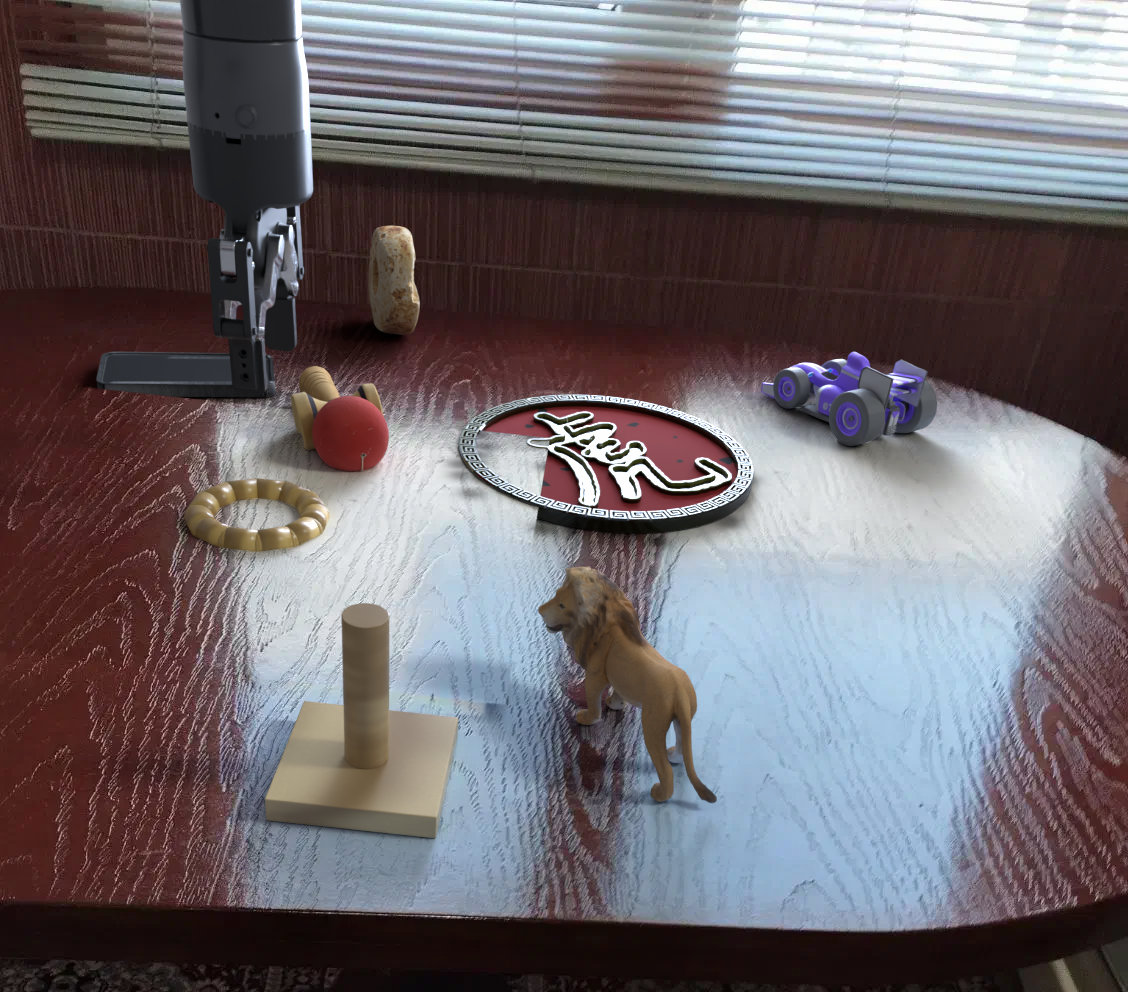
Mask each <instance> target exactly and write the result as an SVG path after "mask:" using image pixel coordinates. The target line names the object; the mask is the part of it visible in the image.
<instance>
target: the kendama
mask: <svg viewBox="0 0 1128 992" xmlns="http://www.w3.org/2000/svg"><path fill="white" fill-rule="evenodd" d="M298 388H299V391H300V392H296V393H293V394H291V395H290V405H291V411H292V417H293V421H294V426H295V429H296V432H297V433H298V434H301V437H302V442H303V449H304V450H306V451H309V450H310V451H311V450H316V453H317V455H318V456H319V458H320V459H321V460H322V462H323V463H325V464H326V465H327V466H328V467H329V468H332V469H335V470H338V471H344V472H363V471H368V470H370V469H373V468H375V467H376V466H377V465H378V464H379V463H380V462H381V461H382V460H383V458H384V457H385V455H386V452H387V450H388V447H389V441H390V432H389V431H390V430H389V427H388V423H387V421H386V419H385V416H384V411H383V407H382V403H381V399H380V395H379V392H378V390H377V388H376V385H375V384H374V383H372V382H371V383H362V384H361V385H359V387H357V389H356V390H355V392H354V393H353V394H351V395H342V396H341V395H340V393H339V391H338V389H337V387H336V385H335V383H334V381H333V378H332V376H331V375H330V373H329V372H328V371H327V370H326V369H325V368H323V367H321V366H319V365H312V366H309V367H307V368H305V369H304V370H303V371H302V373H301V374H300V375H299V379H298Z"/></svg>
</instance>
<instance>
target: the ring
mask: <svg viewBox="0 0 1128 992" xmlns="http://www.w3.org/2000/svg"><path fill="white" fill-rule="evenodd" d="M256 499H258V500H259V499H260V500H268V501H278V502H281V503H284V504H286V505H288V506H290V507H293V508H295V509H296V511H297V513H298V514H299V518H298V519H295V520H293V521H291V522H289V523H287V524H285V525H283V526H282V525H281V526H275V527H267V528H262V529H261V528H259V529H255V528H245V527H235V526H230V525H229V524H226V523H223V522H221V521H219V520H217V519H216V515H217V514H218V512H219V511H220V509H222V508H224V507H226V506H228V505H230V504H233V503H235V502H240V501H248V500H256ZM330 518H331V514H330V511H329V509H328V508H327V506H326V505H325V504H324V502H323V501H322V499H321V498H320V496H319V495H318V494H317V493H316V492H315V491H313V490H311V489H308V488H305V487H304V486H301V485H298V484H296V483H294V482H291V481H288V480H281V479H280V480H279V479H269V478H260V477H253V478H245V479H235V480H229V481H223V482H221V483H218V484H215V485H214V486H211V487H209V488H206V489H204V490H201V491H199V492H198V493H197V494H196V495H195V496H194V497H193V499H192V500H191V502H190V503H189V505H188V506H187V507H186V509H185V511H184V515H183V519H184V522H185V523H186V525H187V528H188V529H189V531H190V533H191V535H192V536H193V537H195V538H197V539H200V540H202V541H204V542H206V543H208V544H210V545H212V546H215V547H217V548H220V549H225V550H226V549H227V550H235V551H242V552H243V551H244V552H254V553H264V552H270V551H276V550H284V549H291V548H296V547H299V546H301V545H303V544H305V543H307V542H309V541H310V540H312V539H314V538H317V537H319V536H321V535H322V534H323V533H324V531H325V529H326V527H327V525H328V523H329V521H330Z"/></svg>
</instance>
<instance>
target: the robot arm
mask: <svg viewBox="0 0 1128 992" xmlns="http://www.w3.org/2000/svg"><path fill="white" fill-rule="evenodd" d="M179 4H180V17H181V25H182V28H183V30H182V40H183V47H182V82H183V90H184V101H185V102H184V103H185V111H186V112H185V113H186V121H187V122H186V123H187V133H188V143H189V155H190V164H191V176H192V184H193V185H192V186H193V189H194V191H195V193H196V194H197V195H198V196H199V197H200V198H201V199H203V200H205V201H206V202H208V203H212V204H213V203H215V204H216V205H218V206H219V207H220V208H222V210H223V212H224V215H225V216H224V223H223V224H224V225H223V227H224V228H222V229H221V230H220V233H219V238H215V237H209V238H208V241H207V244H206V252H207V261H208V274H209V287H210V301H211V314H212V330H213V334H214V337H215V338H225V339H227V341H228V353H230V364H231V376H232V386H233V389H234V390H235V391H236V392H237V393H240V394H250V395H262V394H263V393H264V392H265V390H266V389H267V371H266V357H265V354H266V348H267V349H268V350H270V351H271V350H272V351H279V352H292V351H294V350H295V349H296V347H297V345H298V335H297V334H298V333H297V332H298V330H297V314H296V297H297V296H298V293H299V291H300V286H299V281H301V280H302V281H303V278H304V275H305V267H304V257H303V256H304V255H303V243H302V242H303V241H302V226H301V210H300V209H301V208H300V206H301V205H302V204H304V203H306V202H307V201H308V200H310V199H311V198H312V195H313V193H314V177H313V153H312V129H311V127H312V126H311V125H312V124H311V108H310V107H311V105H310V104H311V103H310V84H309V74H308V67H307V61H306V56H305V48H304V39H303V38H304V37H303V19H302V17H303V16H302V0H179ZM298 280H299V281H298ZM240 306H242V319H241V318H237V309H238V307H240Z"/></svg>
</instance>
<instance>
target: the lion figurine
mask: <svg viewBox="0 0 1128 992" xmlns="http://www.w3.org/2000/svg"><path fill="white" fill-rule="evenodd" d="M565 573H566V574H565V577H564V579H563V582H562V585H561V586H560V587H558V588H557V589H556V591H555V595H554V597H552V598H551V599H549V600H548V601H545V602H544V603H542V604H541V605H539V606H538V608H537V612H538V614H539V616H541V619H542V621H543V623H544V624H545V629H546V631H547V633H548V634H552V635H553V634H557V633H559V632H561V635H562V639H563V642H564V643H565V644H567V645H568V646H570V647H571V648H572V649H573V653H574V659H575V662H576V663H577V664H578V665H579V666H580V667H581V669H582V670H584V671H585V672H584V691H585V698H586V703H587V708H586V709H585V708H582V709H580V710H578V712H577V713H576V715H575V718H576V722H577V724H580V725H583V726H592V725H595V724H597V723H598V722H600V720H601V718H602V712H603V711H602V697H603V693H604V692H605V691H606V689H607V687H608V686H609V685H610V686H611V687H612V688H613V690H612V694H611V695H609V696H607V697H606V699H605V704H606V706H607V707H608V708H610V709H612V710H623V709H624V708H625V707H626V706H627V703H628V704H630V705H631V706H633V707H634V708H637V709H639V710H641V712H640V713H641V715H640V720H641V721H640V722H641V727H642V737H643V742H644V745H645V748H646V750H647V753H648V755H649V757H650V760H651V763H652V764H653V767H654V769H655V772H656V775H657V777H658V781H659V782H655V783H654V784H653V785H652V787H651V788H650V797H651V799H653V800H654V801H655V802H658V803H663V802H666V801H668V800H670V799H671V798H672V797H673V796H674V790H675V782H674V781H675V780H674V769H673V767H672V765H671V763H674V764H682V763H683V765H684V769H685V773H686V776H687V779H688V780H689V783H690V784H691V785H692V787H693V789H694V790H695V792H696V794H697V795H698V797H699V798H700V800H701V801H705V802H707V803H709V804H714V803H717V802H718V797H717V796H716V794H715V793H714V792H713V791H712V790H711V789H710V788H708V787H707V785H706V784H704V783H703V782H702V780H701V779H700V778H699V777H698V775H697V772H696V770H695V765H694V757H693V745H692V743H693V742H692V741H693V740H692V721H693V719H694V717H695V716H696V713H697V710H698V699H697V697H698V696H697V693H696V689H695V687H694V684H693V683H692V681H691V678H690V676H689V674H688V673H687V672H686V671H685V669H683V668H681V667H680V666H678V665H675V664H673V663H672V662H671V661H669V660H668V659H666V658H665V657H663V655H661V653H660V652H659V651H658V650H657V649H656V648H655V647H654V646H653V645H652V644H651V643H650V642H649V641H648V640H647V639H646V638H645V636H644V635H643V632H642V629H641V622H640V616H639V614H638V613H637V610H636V608H635V607H634V606H633V602H632V601H631V600H629V599H628V597H627V596H626V595H625V592H624V591H623V589H620V587H619V586H618V584H617V583H616V582H614V581H613V580H612V578H608V576H607V575H606V574H605V573H603V572H601V571H599V570H598V569H596V568H591V566H589V565H588V566H578V567H576V566H573V567H570V568H567V567H565ZM671 725H672V727H673V730H674V734H675V745H673V746H670V747H667V734H668V732H669V731H670V729H671ZM670 762H671V763H670Z"/></svg>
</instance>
